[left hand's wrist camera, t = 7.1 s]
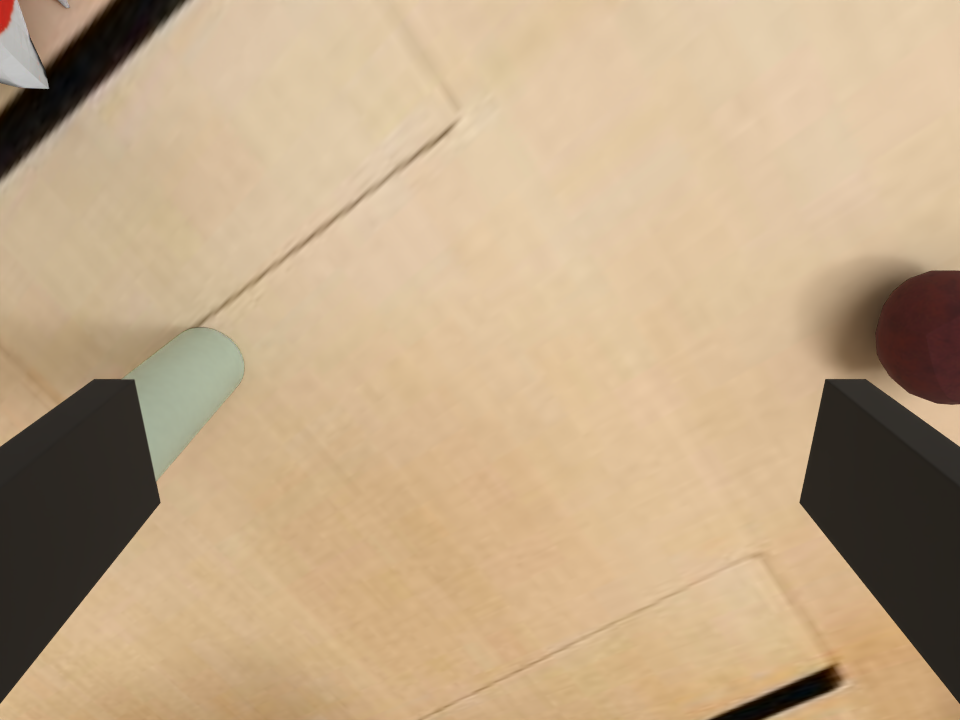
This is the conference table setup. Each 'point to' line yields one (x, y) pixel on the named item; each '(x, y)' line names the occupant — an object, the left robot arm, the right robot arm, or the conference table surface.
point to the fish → (19, 49)
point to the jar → (184, 389)
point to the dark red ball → (923, 336)
